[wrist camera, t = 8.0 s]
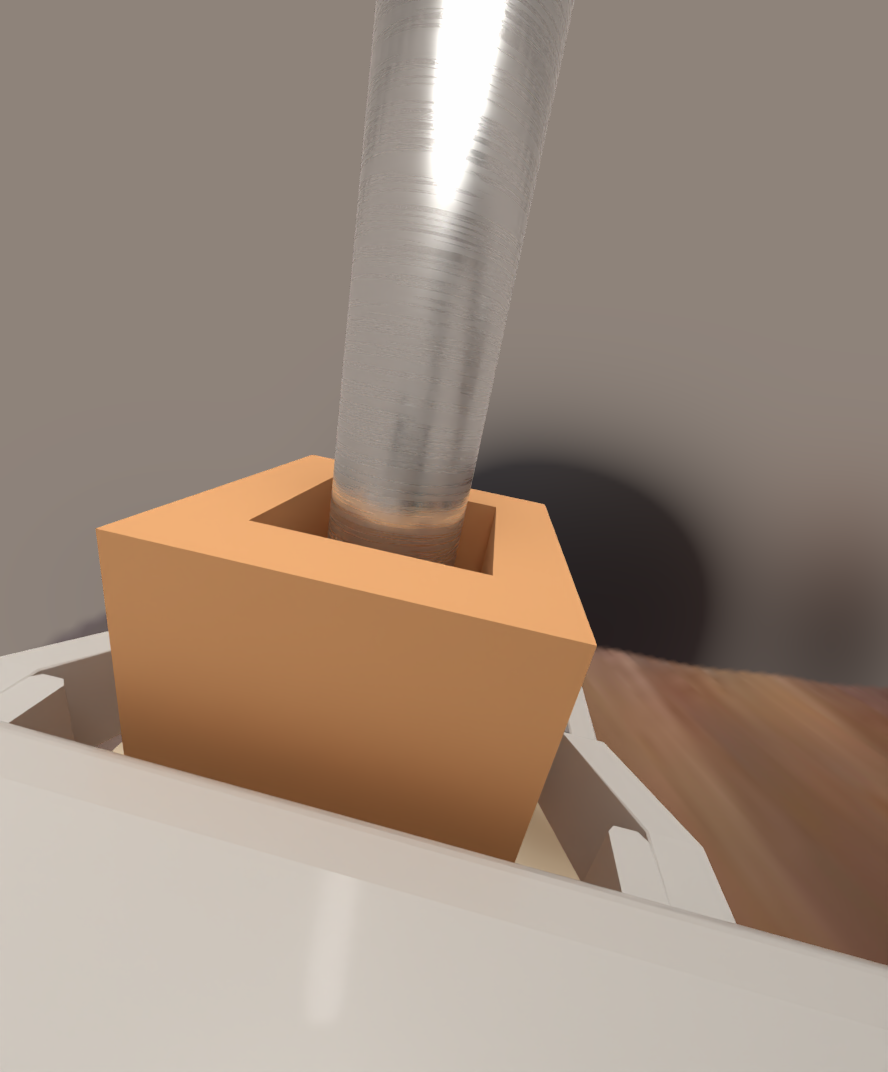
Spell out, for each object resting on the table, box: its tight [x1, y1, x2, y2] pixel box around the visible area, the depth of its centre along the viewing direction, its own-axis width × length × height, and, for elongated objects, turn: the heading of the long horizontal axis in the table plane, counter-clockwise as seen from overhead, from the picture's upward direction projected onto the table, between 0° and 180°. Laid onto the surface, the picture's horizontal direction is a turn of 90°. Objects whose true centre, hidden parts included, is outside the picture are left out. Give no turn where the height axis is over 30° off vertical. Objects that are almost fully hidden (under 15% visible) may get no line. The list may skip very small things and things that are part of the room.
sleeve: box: [96, 455, 597, 863], centre depth 9 cm, size 6×6×8 cm
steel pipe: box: [328, 0, 575, 567], centre depth 8 cm, size 3×3×26 cm
